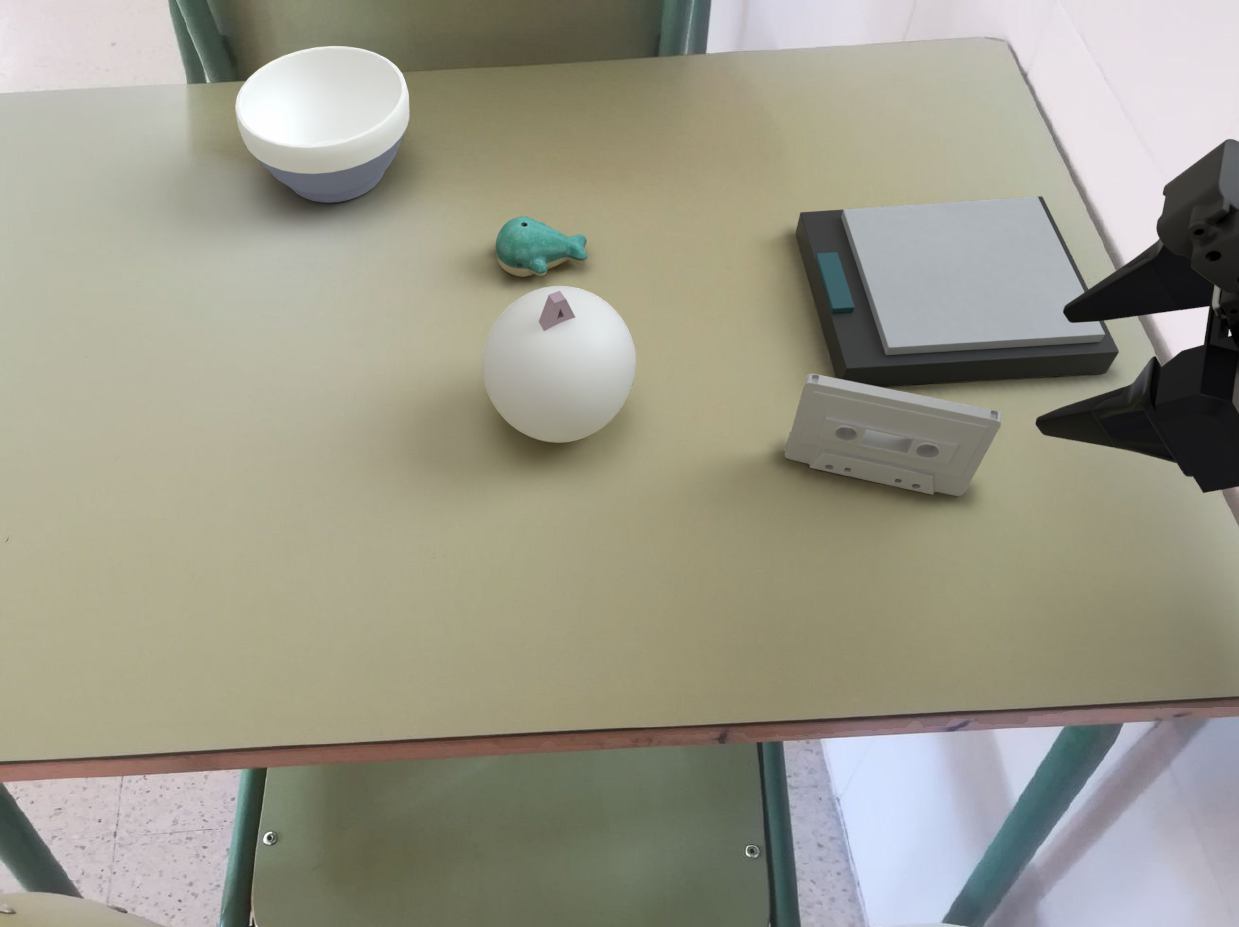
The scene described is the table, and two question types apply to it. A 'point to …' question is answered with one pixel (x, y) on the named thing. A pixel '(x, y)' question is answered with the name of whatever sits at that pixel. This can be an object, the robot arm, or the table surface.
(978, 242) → the scale
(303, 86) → the bowl
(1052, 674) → the table surface
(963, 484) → the cassette
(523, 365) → the ornament
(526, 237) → the whale figurine
